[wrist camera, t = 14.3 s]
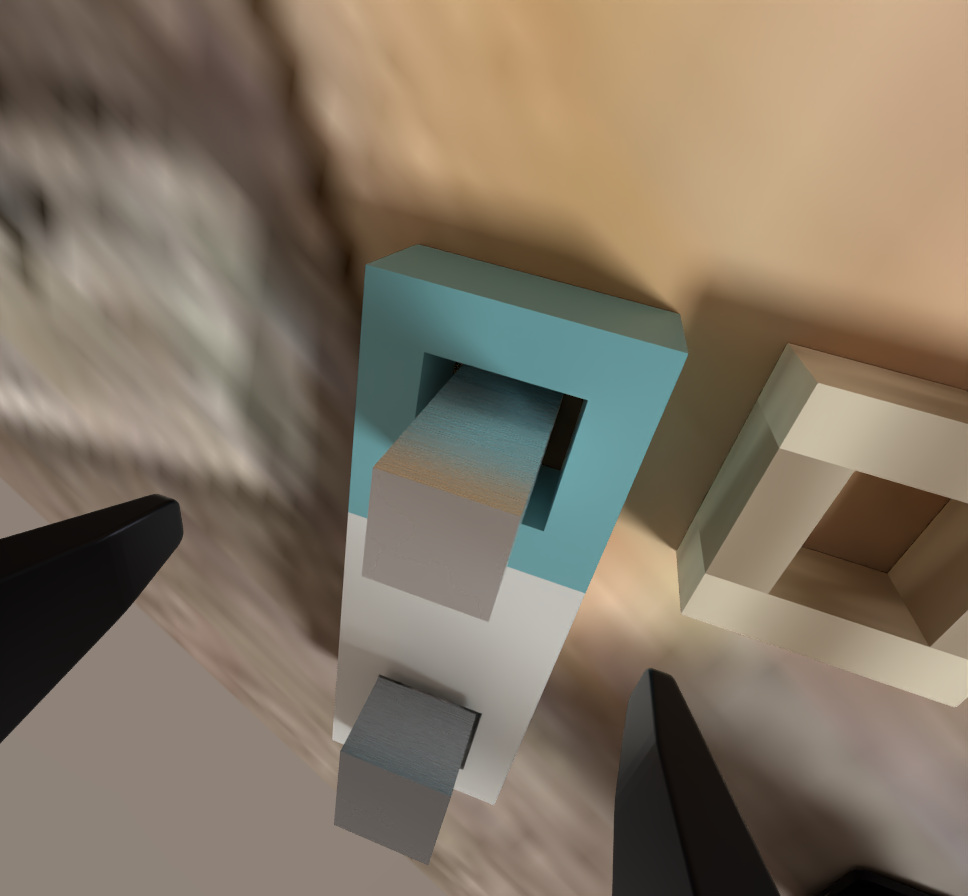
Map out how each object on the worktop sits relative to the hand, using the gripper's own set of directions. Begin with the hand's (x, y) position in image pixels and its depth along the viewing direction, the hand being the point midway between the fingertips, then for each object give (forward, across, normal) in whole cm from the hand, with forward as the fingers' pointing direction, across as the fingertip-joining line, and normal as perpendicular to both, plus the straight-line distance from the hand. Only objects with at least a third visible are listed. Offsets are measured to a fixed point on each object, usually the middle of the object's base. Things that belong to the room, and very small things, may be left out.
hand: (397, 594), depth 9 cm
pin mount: (+9, -11, 0) cm, 15 cm away
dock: (+9, 0, +7) cm, 12 cm away
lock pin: (+10, 0, 0) cm, 10 cm away
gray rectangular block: (+9, 0, +14) cm, 17 cm away
